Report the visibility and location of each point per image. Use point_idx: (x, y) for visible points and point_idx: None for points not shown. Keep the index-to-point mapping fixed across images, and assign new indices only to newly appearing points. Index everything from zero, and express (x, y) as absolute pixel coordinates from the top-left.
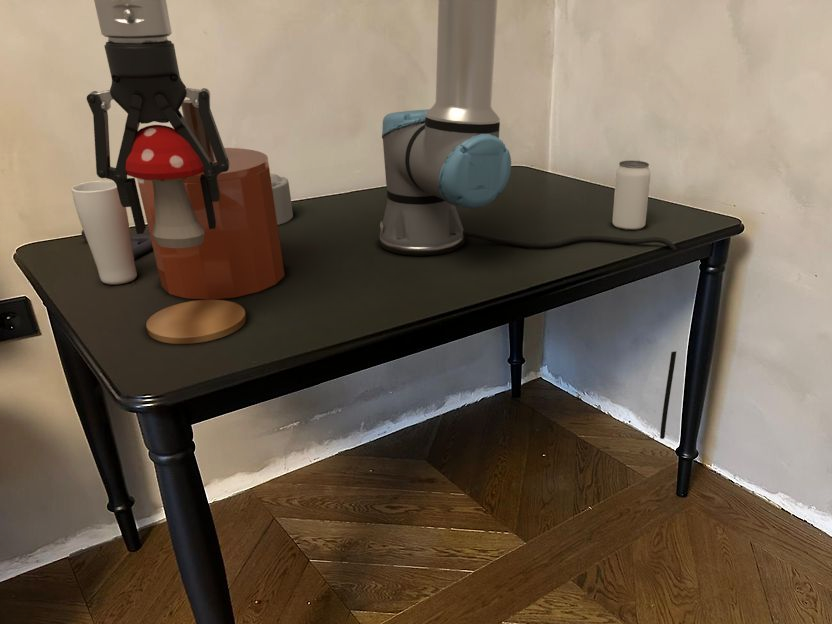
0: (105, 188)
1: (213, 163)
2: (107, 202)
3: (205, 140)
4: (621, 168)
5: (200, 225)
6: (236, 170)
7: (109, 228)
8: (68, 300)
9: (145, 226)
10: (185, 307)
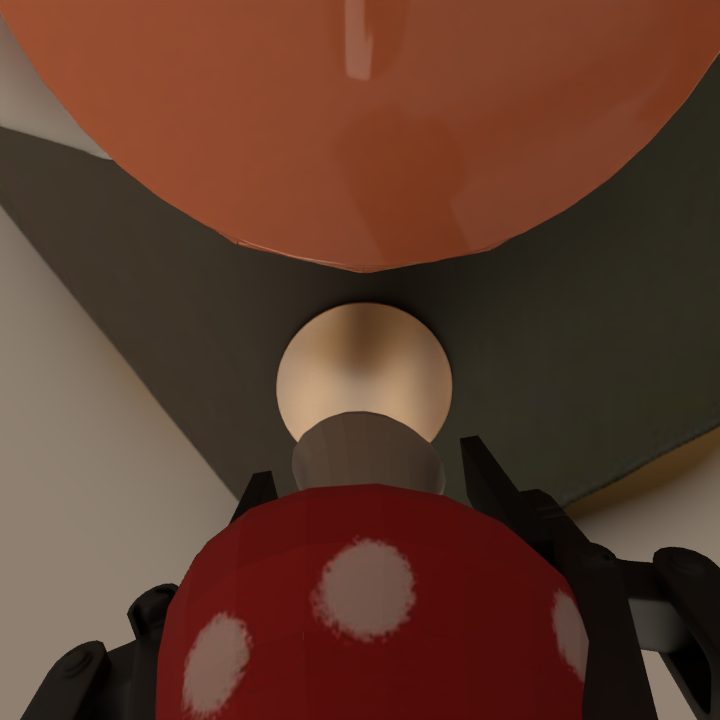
0: None
1: (633, 607)
2: None
3: None
4: None
5: (439, 477)
6: (619, 149)
7: (34, 114)
8: (59, 243)
9: (271, 475)
10: (330, 342)
